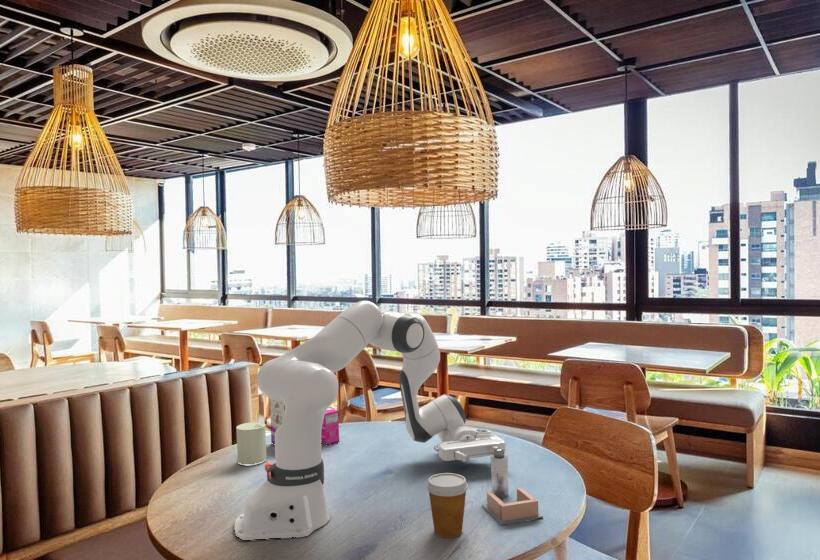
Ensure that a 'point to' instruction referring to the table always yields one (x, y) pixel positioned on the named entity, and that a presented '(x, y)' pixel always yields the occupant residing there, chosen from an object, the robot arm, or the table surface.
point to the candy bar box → (276, 417)
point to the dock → (512, 508)
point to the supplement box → (330, 427)
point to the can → (251, 442)
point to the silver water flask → (499, 473)
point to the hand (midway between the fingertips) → (481, 456)
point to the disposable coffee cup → (447, 503)
